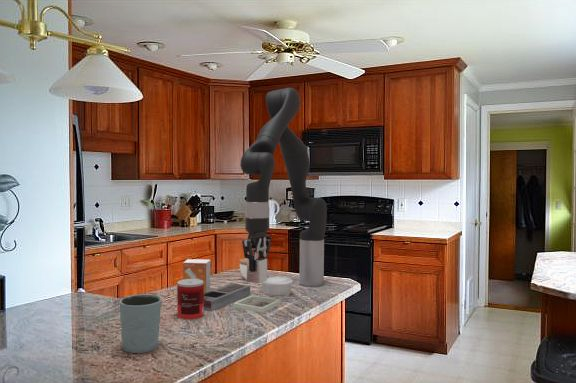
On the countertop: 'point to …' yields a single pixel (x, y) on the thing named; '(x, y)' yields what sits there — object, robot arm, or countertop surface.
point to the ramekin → (277, 286)
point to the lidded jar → (243, 267)
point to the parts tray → (242, 305)
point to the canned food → (190, 298)
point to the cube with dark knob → (258, 271)
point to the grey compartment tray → (224, 296)
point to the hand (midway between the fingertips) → (257, 269)
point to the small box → (197, 271)
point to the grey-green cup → (140, 322)
